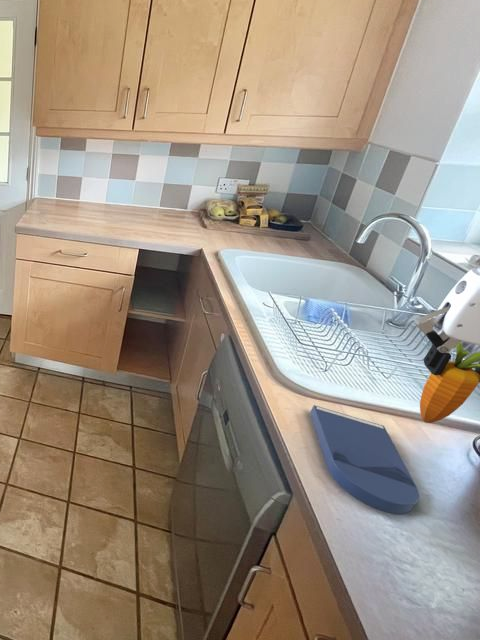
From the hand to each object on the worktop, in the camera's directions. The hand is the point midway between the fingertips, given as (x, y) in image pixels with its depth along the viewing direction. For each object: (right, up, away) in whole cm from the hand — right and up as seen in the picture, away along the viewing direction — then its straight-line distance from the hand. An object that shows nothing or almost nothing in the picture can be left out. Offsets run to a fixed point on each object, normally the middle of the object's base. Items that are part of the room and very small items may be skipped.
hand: (456, 374), depth 64 cm
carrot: (0, -9, +4) cm, 10 cm away
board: (+1, -22, +17) cm, 28 cm away
